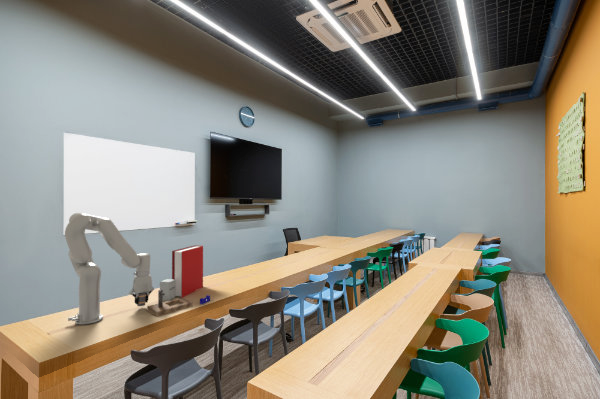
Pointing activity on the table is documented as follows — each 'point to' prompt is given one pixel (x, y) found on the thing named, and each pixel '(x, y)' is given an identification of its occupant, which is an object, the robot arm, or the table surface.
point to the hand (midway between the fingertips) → (141, 302)
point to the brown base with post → (167, 305)
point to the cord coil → (141, 299)
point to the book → (187, 269)
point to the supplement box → (168, 289)
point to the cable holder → (205, 299)
